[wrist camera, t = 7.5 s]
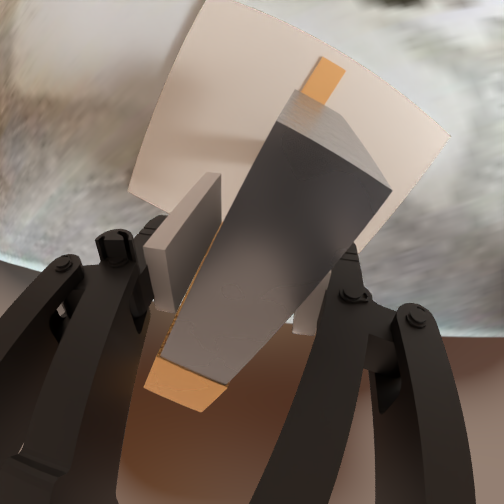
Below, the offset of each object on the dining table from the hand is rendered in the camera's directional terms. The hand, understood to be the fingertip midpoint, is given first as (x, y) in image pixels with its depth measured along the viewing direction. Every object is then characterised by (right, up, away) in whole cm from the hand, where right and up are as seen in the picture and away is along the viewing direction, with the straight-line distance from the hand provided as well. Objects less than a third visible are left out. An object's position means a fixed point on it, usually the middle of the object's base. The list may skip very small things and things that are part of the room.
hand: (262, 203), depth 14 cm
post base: (+1, +5, +8) cm, 9 cm away
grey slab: (0, +1, +1) cm, 1 cm away
